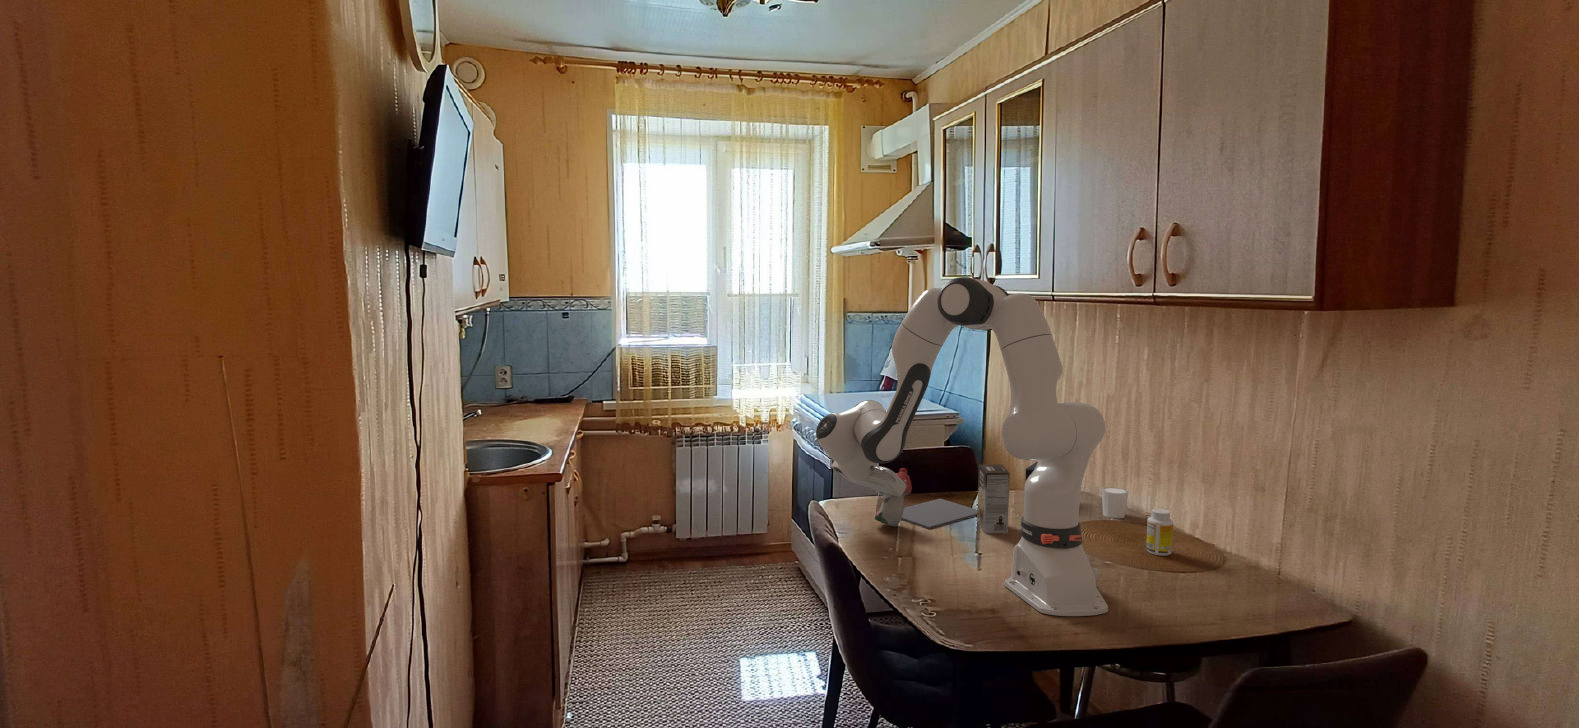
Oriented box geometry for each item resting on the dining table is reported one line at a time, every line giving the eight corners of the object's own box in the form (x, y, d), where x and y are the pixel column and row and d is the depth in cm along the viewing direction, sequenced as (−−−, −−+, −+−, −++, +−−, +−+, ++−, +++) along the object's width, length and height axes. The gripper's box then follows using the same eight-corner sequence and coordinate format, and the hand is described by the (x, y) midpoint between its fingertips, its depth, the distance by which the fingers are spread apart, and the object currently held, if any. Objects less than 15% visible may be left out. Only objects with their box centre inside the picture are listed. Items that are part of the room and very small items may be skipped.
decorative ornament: (880, 518, 208) (898, 465, 208) (902, 527, 205) (921, 474, 205) (870, 518, 199) (889, 463, 200) (893, 528, 196) (912, 472, 197)
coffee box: (976, 522, 206) (977, 463, 204) (1000, 522, 206) (1001, 463, 204) (984, 533, 197) (985, 472, 195) (1009, 533, 197) (1011, 472, 195)
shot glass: (1128, 513, 213) (1130, 489, 213) (1125, 520, 208) (1126, 495, 207) (1102, 510, 217) (1103, 485, 216) (1098, 516, 211) (1099, 491, 210)
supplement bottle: (1174, 552, 184) (1177, 510, 182) (1167, 558, 179) (1170, 515, 178) (1150, 546, 187) (1152, 506, 186) (1142, 552, 183) (1144, 511, 182)
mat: (928, 529, 200) (928, 527, 200) (885, 514, 213) (886, 512, 213) (983, 513, 214) (983, 511, 214) (940, 500, 226) (940, 498, 226)
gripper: (894, 461, 187) (921, 493, 194) (839, 446, 203) (866, 477, 210) (881, 482, 185) (909, 514, 192) (826, 465, 201) (854, 495, 208)
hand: (886, 494), depth 201 cm, fingers closed
